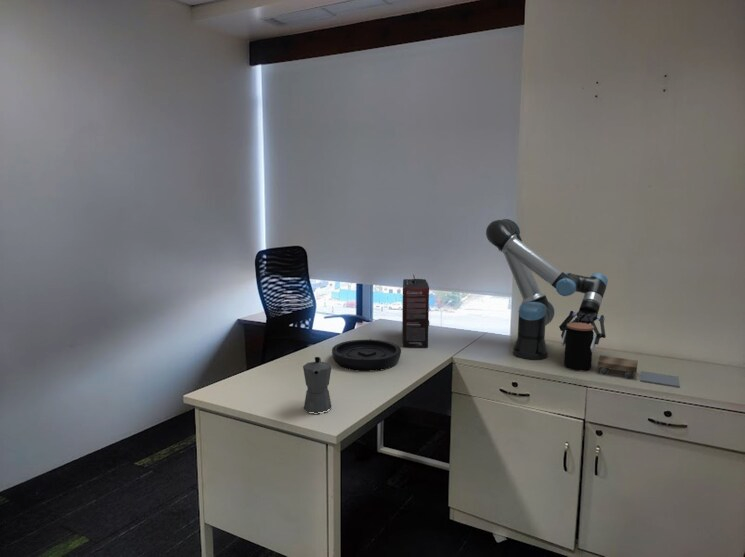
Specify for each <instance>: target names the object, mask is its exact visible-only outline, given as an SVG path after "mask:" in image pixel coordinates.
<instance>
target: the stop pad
mask: <svg viewBox="0 0 745 557" xmlns="http://www.w3.org/2000/svg"><path fill="white" fill-rule="evenodd" d="M639 377H640V379H639V380H640V382H641V381H642V383H647V382H648V384H653V383H654V384H655V385H659V384H660V386H666V387H674V388H678V389H680V379H679V376H677V375H671V374H665V373H657V372H650V371H646V370H645V371H643V370H641V371H640V376H639Z"/></svg>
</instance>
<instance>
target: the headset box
mask: <svg viewBox="0 0 745 557" xmlns="http://www.w3.org/2000/svg"><path fill="white" fill-rule="evenodd" d="M412 276H413V278H410V279H408V278H407V279H406V278H403V282H402V309H401V310H402V320H401V321H402V322H401V323H402V329H401V330H402V332H401V333H402V346H403V348H428V347H429V327H428V321H429V322H430V319H429V318H430V317H429V314H430V313H429V312H430V308H429V307H430V286H429V283H428V281H427V279H425V278H424V279H423V278H416V277H415V275H414V274H413V275H412Z"/></svg>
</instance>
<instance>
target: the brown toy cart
mask: <svg viewBox="0 0 745 557" xmlns="http://www.w3.org/2000/svg"><path fill="white" fill-rule="evenodd" d="M597 368H599V373H600V374H601V375H603V376H606V375H607V374H608V373H609V369H610V370H611V369H612V370H616V371H617V370H618V371H624V377H625V378H626V379H628V380H631V379H633V378H634V373H637V372H638V359H637V360H635V359H628V358H621V357H615V356H607V355H602V354H601V355H599V357H598V360H597Z"/></svg>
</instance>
